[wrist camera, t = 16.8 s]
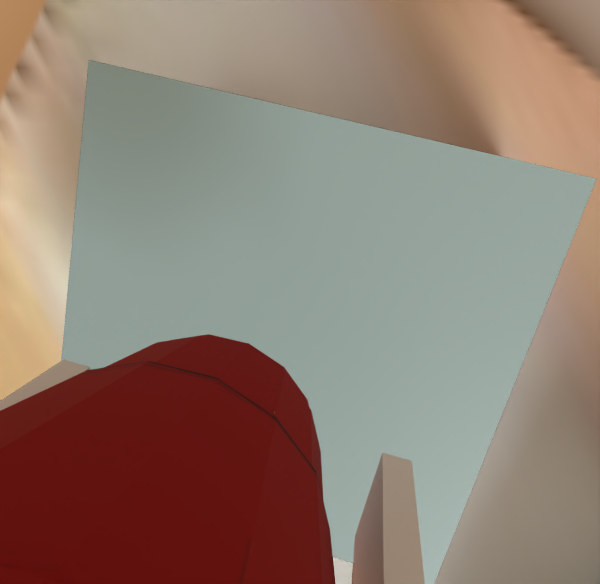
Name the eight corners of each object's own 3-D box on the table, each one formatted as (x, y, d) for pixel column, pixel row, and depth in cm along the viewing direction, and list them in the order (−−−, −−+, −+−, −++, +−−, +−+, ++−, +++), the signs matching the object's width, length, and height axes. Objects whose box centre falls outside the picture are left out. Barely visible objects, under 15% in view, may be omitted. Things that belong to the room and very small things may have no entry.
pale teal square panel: (64, 456, 24) (51, 468, 23) (103, 64, 19) (88, 59, 18) (430, 569, 23) (432, 588, 22) (584, 177, 17) (596, 178, 16)
